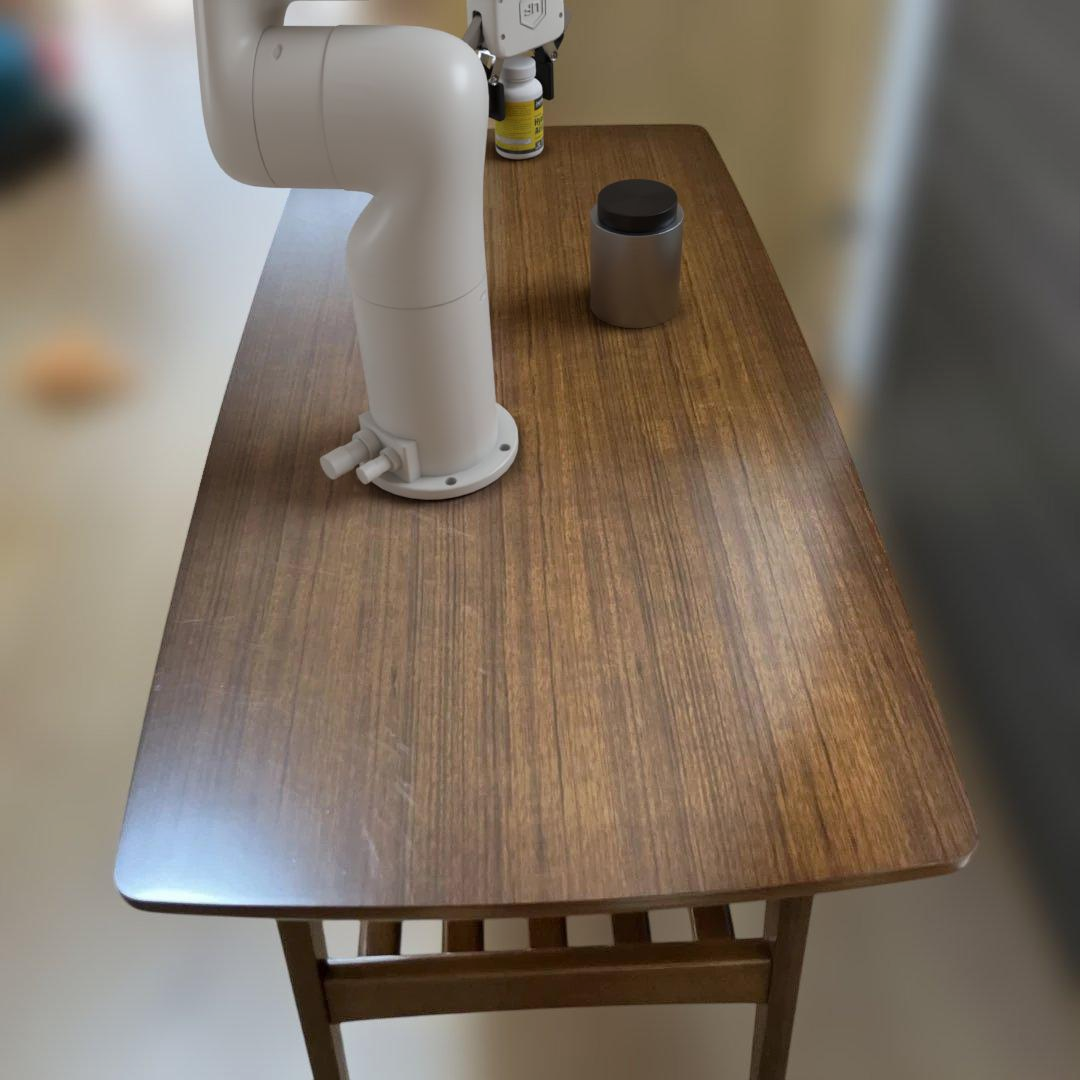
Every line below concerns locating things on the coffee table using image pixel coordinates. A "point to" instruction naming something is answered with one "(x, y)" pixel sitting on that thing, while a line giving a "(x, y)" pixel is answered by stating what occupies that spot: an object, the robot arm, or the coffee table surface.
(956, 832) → the coffee table surface
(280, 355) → the coffee table surface
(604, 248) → the canister
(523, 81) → the supplement bottle
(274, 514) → the coffee table surface
